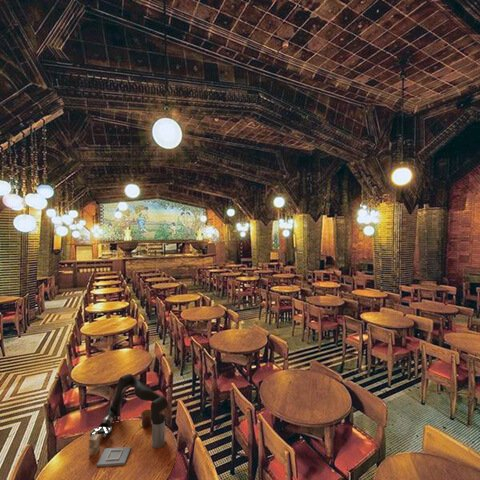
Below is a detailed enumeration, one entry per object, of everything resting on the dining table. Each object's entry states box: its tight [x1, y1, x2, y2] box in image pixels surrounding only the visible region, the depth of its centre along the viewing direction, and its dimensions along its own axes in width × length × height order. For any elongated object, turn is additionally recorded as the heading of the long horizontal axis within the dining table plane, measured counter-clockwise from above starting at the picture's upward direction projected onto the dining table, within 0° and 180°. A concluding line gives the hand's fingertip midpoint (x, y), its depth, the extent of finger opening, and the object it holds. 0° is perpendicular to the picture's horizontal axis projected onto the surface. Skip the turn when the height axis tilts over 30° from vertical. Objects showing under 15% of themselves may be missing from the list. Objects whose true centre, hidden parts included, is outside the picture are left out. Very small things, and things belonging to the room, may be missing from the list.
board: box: [96, 446, 132, 468], centre depth 189 cm, size 18×14×2 cm
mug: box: [140, 408, 152, 429], centre depth 223 cm, size 12×9×10 cm
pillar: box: [88, 434, 100, 456], centre depth 194 cm, size 5×5×11 cm
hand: (97, 438), depth 199 cm, fingers open, 8 cm apart
